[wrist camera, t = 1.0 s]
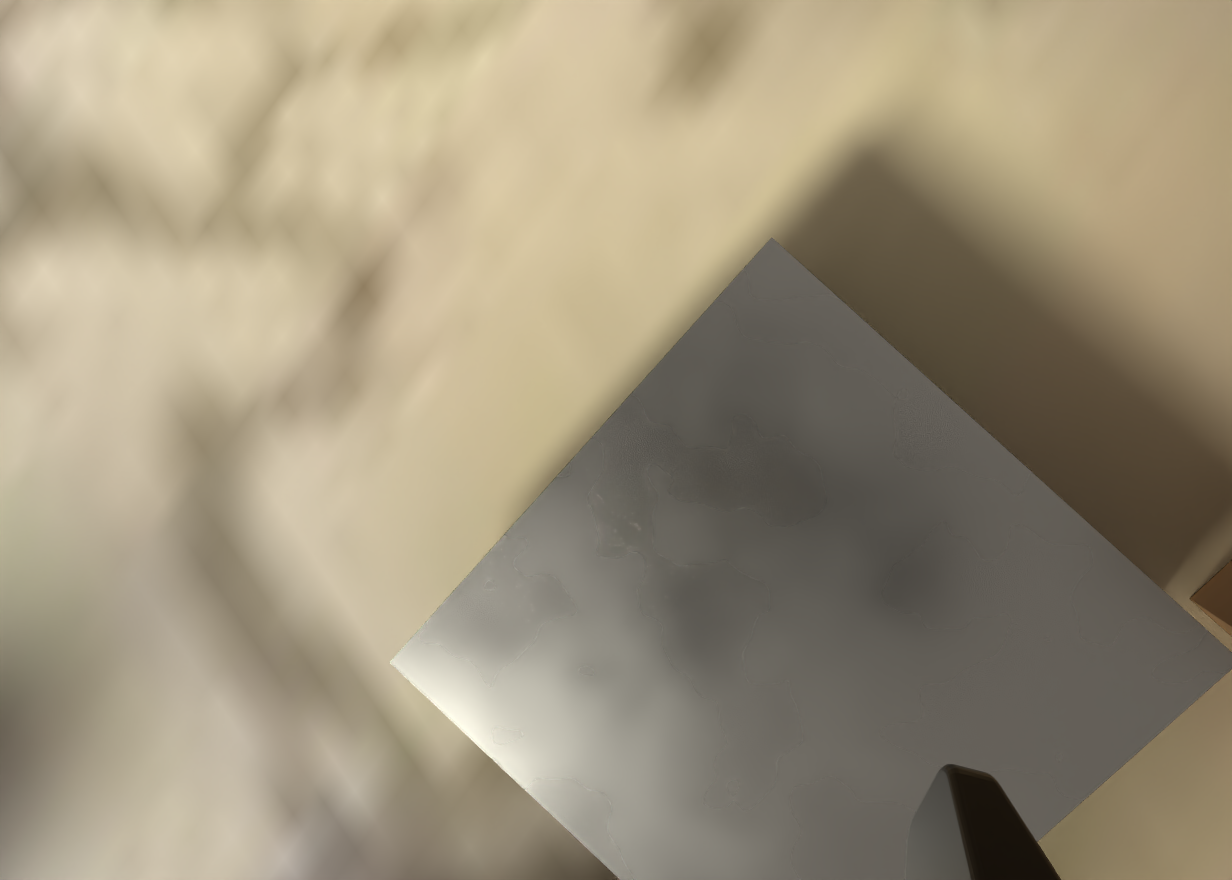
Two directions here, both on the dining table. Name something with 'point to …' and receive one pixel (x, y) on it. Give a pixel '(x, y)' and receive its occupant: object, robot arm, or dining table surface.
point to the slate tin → (799, 613)
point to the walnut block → (1217, 598)
